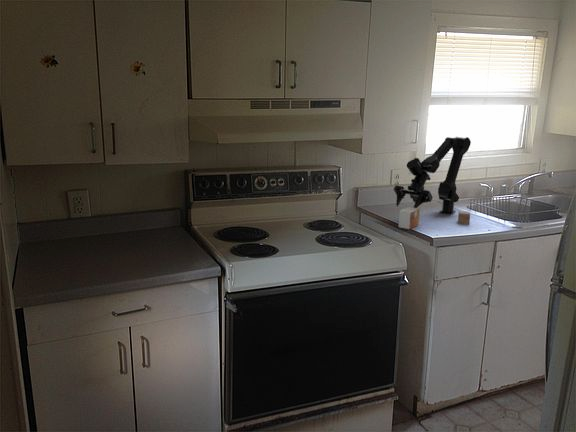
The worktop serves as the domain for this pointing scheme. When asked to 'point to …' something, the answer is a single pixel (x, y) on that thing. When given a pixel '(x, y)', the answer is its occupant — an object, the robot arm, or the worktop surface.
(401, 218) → the small box
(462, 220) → the walnut block
